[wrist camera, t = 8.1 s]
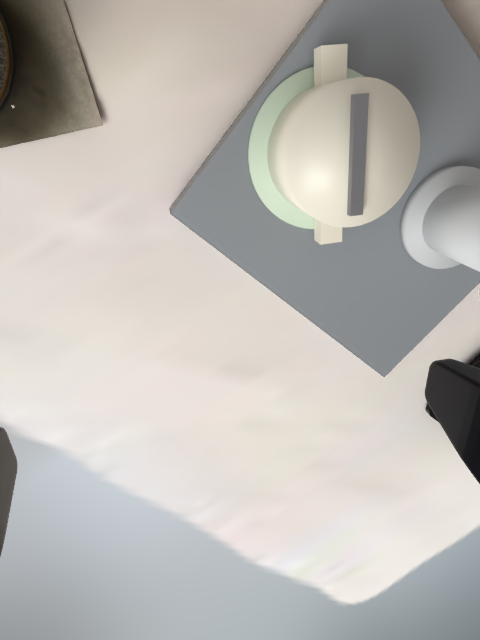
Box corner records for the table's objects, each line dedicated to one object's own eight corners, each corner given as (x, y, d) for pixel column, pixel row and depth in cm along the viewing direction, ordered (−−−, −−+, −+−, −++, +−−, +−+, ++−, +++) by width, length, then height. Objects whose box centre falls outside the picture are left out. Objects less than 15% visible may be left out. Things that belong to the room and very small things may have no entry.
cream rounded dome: (374, 231, 19) (413, 250, 16) (271, 245, 19) (293, 268, 16) (386, 44, 16) (438, 26, 13) (262, 53, 15) (287, 36, 12)
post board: (547, 190, 22) (662, 210, 17) (374, 366, 25) (428, 426, 20) (373, -66, 16) (473, -152, 11) (169, 208, 18) (174, 239, 14)
